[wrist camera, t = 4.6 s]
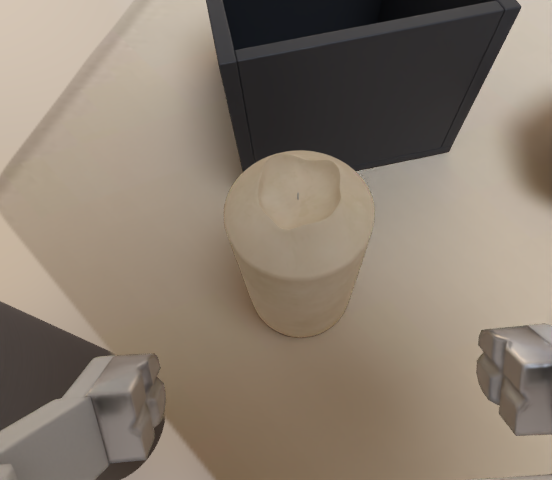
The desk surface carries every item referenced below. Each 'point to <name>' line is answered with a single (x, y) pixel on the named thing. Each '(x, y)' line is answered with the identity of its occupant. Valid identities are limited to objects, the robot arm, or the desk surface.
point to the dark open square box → (354, 73)
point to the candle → (299, 237)
